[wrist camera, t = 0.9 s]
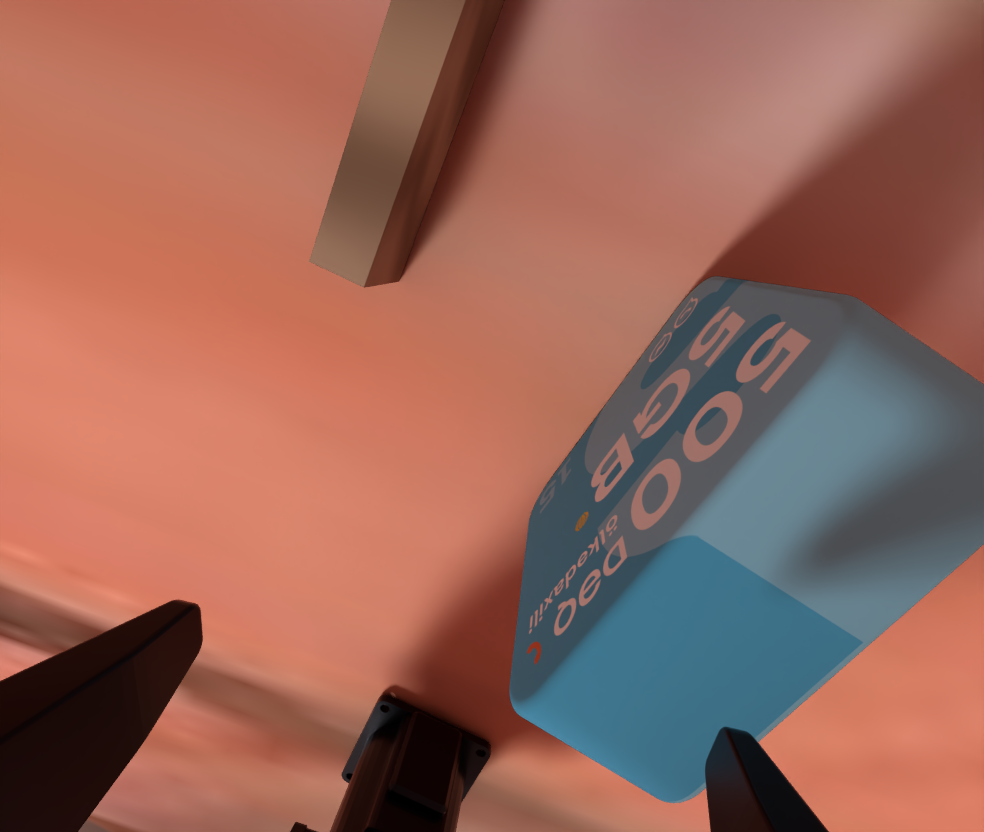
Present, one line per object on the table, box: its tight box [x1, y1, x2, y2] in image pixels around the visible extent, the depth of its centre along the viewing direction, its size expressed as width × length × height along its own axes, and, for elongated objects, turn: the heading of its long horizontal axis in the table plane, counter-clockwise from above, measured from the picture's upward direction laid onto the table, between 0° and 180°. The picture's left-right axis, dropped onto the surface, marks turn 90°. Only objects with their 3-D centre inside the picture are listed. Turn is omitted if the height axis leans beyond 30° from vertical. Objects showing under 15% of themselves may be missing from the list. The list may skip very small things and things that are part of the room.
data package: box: [510, 276, 984, 803], centre depth 16 cm, size 12×4×12 cm, turn 148°
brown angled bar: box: [309, 0, 504, 287], centre depth 16 cm, size 20×25×4 cm
